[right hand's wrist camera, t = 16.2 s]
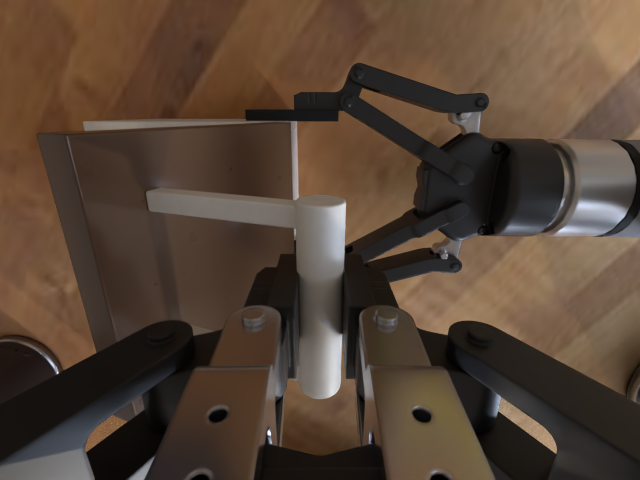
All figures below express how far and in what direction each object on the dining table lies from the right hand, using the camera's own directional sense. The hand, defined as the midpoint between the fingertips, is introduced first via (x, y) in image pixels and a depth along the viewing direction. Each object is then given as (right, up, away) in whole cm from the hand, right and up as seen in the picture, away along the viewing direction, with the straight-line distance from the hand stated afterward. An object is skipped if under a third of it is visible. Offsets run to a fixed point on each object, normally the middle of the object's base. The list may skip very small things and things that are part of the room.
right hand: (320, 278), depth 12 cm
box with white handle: (-5, +2, +5) cm, 7 cm away
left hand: (-5, +6, +15) cm, 17 cm away
